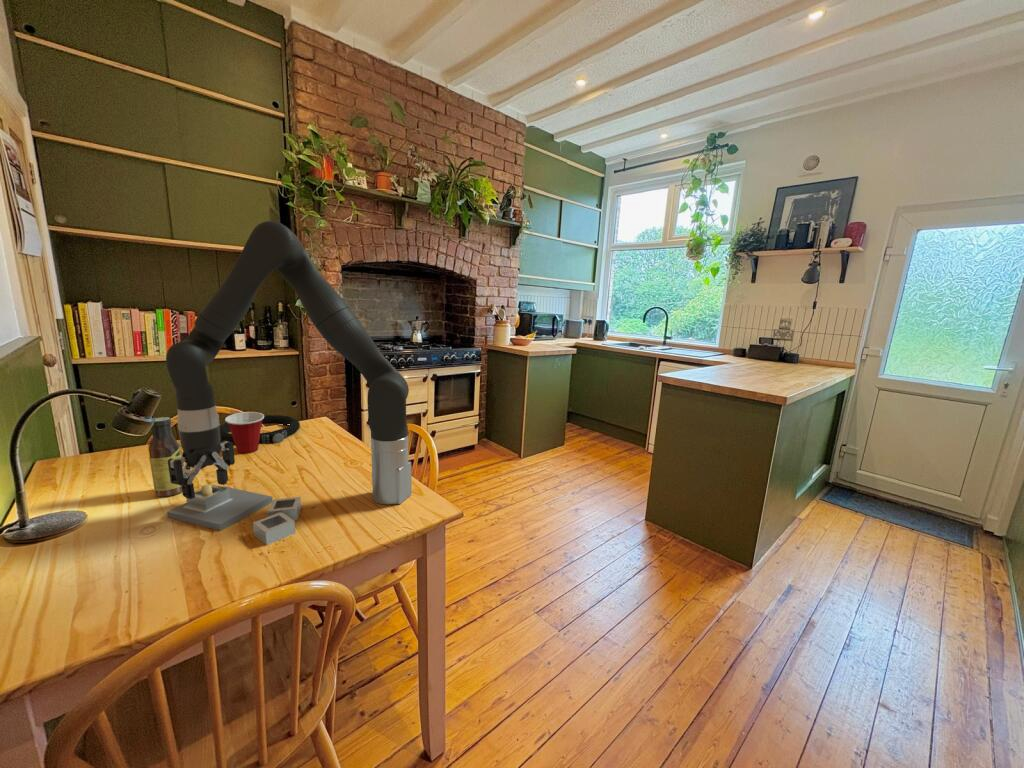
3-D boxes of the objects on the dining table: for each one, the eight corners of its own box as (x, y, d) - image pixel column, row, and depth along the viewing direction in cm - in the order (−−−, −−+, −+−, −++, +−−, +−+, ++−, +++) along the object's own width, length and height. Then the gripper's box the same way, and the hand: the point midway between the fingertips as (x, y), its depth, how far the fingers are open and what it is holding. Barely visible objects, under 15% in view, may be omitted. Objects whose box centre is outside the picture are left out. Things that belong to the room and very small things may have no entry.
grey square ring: (230, 499, 101) (229, 488, 101) (206, 510, 96) (204, 499, 95) (212, 495, 103) (210, 484, 102) (187, 506, 97) (185, 494, 97)
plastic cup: (231, 459, 128) (227, 423, 126) (225, 449, 136) (222, 414, 134) (270, 452, 136) (267, 417, 133) (263, 442, 143) (260, 410, 141)
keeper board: (272, 501, 104) (270, 480, 103) (220, 530, 91) (217, 505, 90) (224, 491, 108) (222, 470, 107) (167, 517, 95) (164, 493, 94)
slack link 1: (301, 507, 102) (300, 496, 101) (297, 520, 96) (296, 508, 96) (274, 510, 100) (273, 499, 99) (268, 523, 94) (267, 511, 94)
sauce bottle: (188, 492, 107) (179, 419, 103) (157, 500, 102) (146, 424, 98) (183, 484, 111) (174, 414, 107) (153, 491, 107) (142, 418, 103)
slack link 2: (282, 523, 95) (281, 511, 94) (295, 533, 91) (294, 520, 91) (254, 534, 90) (253, 522, 89) (266, 545, 86) (265, 532, 86)
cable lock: (280, 409, 172) (316, 425, 154) (280, 418, 173) (317, 434, 155) (201, 423, 150) (233, 443, 133) (202, 433, 151) (234, 454, 133)
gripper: (179, 437, 87) (188, 507, 91) (239, 419, 101) (245, 481, 104) (153, 432, 89) (163, 501, 93) (216, 415, 103) (223, 476, 106)
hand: (207, 490), depth 98 cm, fingers open, 7 cm apart
